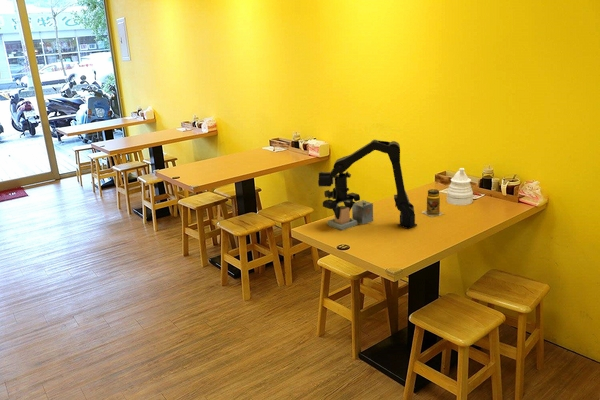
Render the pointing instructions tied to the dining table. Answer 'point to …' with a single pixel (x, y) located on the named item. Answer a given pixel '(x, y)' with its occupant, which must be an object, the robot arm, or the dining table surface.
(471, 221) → the dining table surface
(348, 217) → the block
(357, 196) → the robot arm
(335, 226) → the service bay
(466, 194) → the honey pot
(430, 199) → the condiment
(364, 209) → the junction box
